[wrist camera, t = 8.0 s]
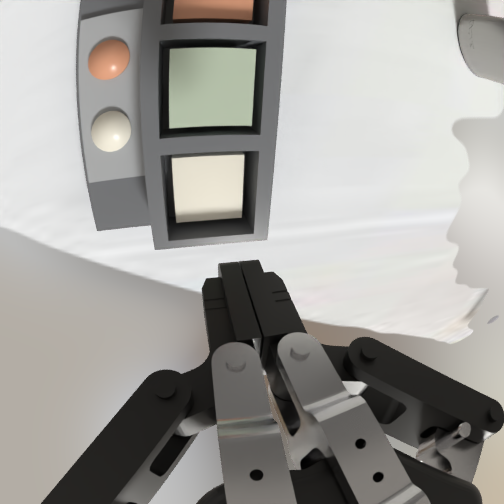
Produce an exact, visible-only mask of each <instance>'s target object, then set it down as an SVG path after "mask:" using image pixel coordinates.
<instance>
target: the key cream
mask: <svg viewBox="0 0 504 504" xmlns="http://www.w3.org/2000/svg"><path fill="white" fill-rule="evenodd" d="M172 172H173V188H174V201H175V213H176V223H180V222H192V221H204V220H216V219H230V218H242V199H243V176H244V154H243V152H242V151H227V152H203V153H187V154H174V155H172Z"/></svg>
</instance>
